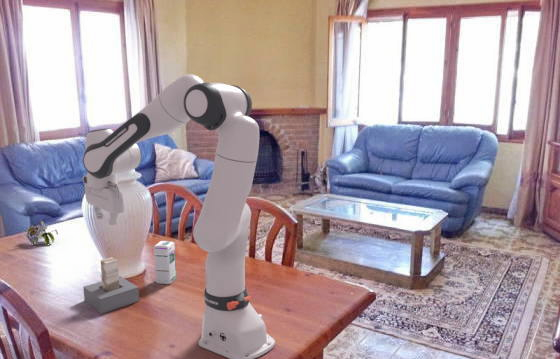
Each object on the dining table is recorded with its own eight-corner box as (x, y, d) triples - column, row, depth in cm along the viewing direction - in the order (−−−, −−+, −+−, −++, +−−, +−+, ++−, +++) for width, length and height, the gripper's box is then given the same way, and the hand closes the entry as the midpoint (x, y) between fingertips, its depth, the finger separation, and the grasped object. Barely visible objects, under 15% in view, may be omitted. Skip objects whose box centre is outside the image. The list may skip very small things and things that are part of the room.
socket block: (139, 301, 164) (138, 287, 163) (101, 313, 155) (100, 299, 154) (120, 289, 173) (120, 276, 172) (84, 300, 164) (83, 286, 163)
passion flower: (34, 256, 220) (17, 235, 219) (53, 245, 229) (38, 224, 228) (44, 247, 214) (28, 225, 213) (64, 235, 223) (48, 214, 222)
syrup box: (170, 284, 177) (168, 246, 174) (155, 283, 178) (153, 245, 176) (176, 278, 183) (175, 241, 180) (162, 277, 184) (160, 240, 181)
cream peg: (120, 300, 164) (117, 260, 161) (108, 303, 161) (105, 263, 158) (114, 296, 167) (112, 257, 164) (103, 299, 164) (100, 260, 161)
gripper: (127, 183, 151) (130, 226, 153) (98, 174, 165) (101, 213, 168) (108, 186, 146) (111, 230, 149) (80, 176, 161) (83, 217, 164)
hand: (106, 221), depth 159 cm, fingers open, 8 cm apart
